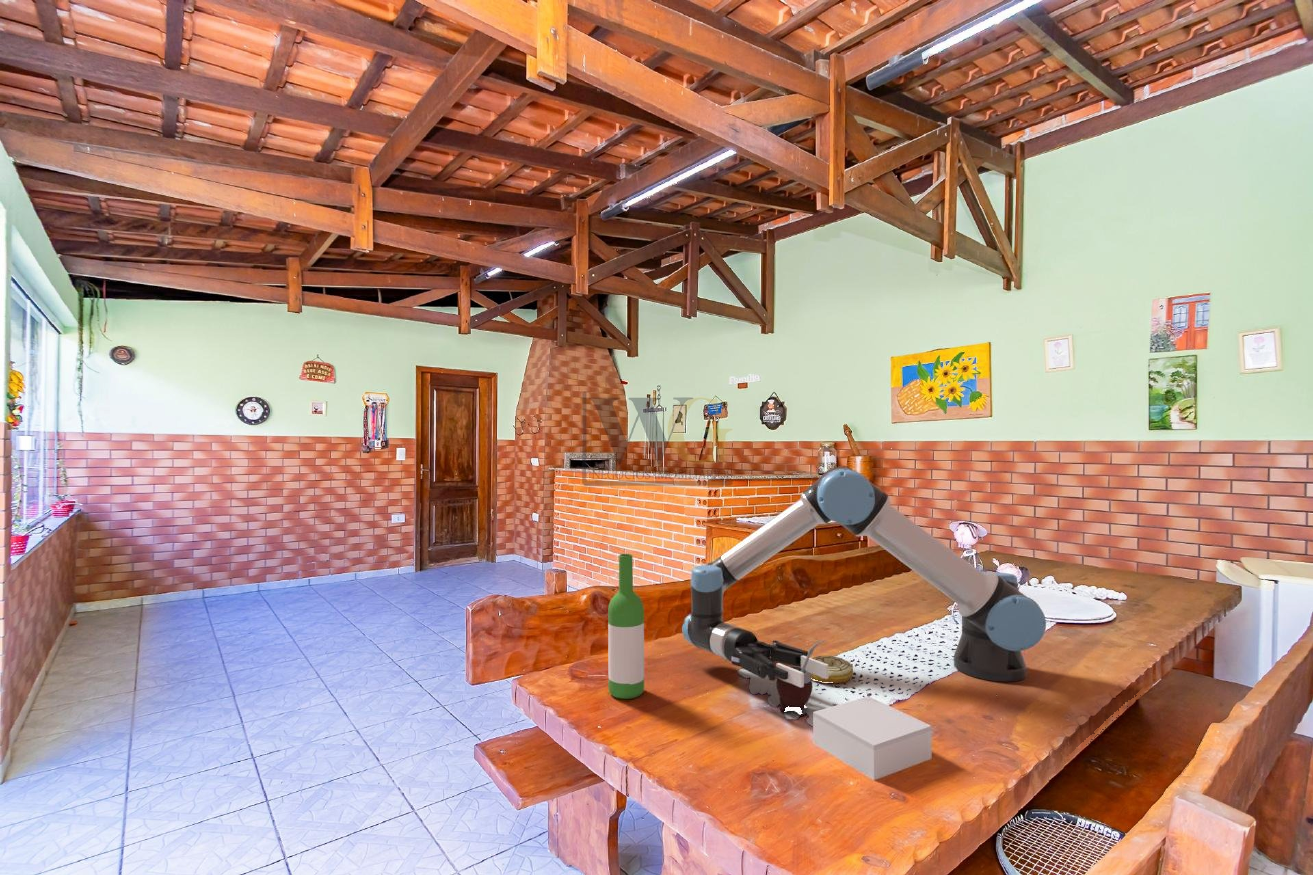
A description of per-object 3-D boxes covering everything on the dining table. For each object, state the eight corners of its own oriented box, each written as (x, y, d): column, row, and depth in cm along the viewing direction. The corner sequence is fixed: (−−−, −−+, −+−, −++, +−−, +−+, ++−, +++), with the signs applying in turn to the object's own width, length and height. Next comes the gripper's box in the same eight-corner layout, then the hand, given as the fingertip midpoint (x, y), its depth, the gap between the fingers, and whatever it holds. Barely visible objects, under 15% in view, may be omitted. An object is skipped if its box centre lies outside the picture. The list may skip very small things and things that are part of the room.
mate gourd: (769, 705, 129) (771, 632, 129) (801, 700, 133) (802, 628, 133) (790, 720, 123) (792, 643, 123) (823, 714, 126) (825, 639, 126)
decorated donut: (795, 673, 148) (795, 657, 148) (832, 666, 152) (832, 650, 152) (824, 689, 138) (823, 672, 138) (862, 681, 143) (862, 664, 143)
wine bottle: (610, 685, 140) (609, 551, 140) (645, 686, 140) (644, 551, 140) (606, 700, 133) (605, 558, 133) (643, 700, 132) (642, 558, 132)
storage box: (813, 744, 114) (813, 711, 114) (868, 727, 121) (868, 696, 121) (873, 782, 102) (873, 745, 102) (931, 760, 109) (931, 725, 108)
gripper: (765, 651, 148) (846, 683, 129) (701, 670, 136) (780, 707, 118) (765, 619, 148) (846, 646, 129) (701, 635, 136) (780, 667, 118)
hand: (814, 675), depth 123 cm, fingers closed on mate gourd, 7 cm apart
